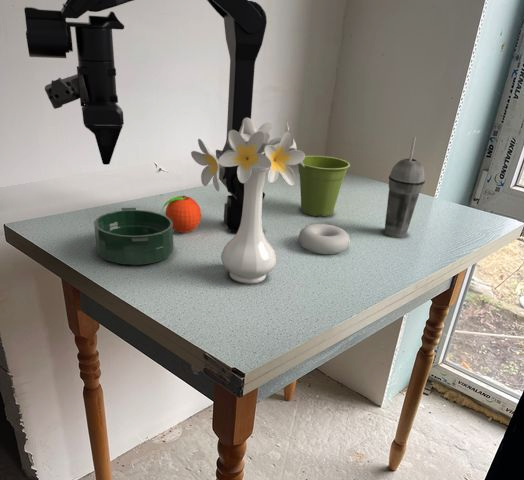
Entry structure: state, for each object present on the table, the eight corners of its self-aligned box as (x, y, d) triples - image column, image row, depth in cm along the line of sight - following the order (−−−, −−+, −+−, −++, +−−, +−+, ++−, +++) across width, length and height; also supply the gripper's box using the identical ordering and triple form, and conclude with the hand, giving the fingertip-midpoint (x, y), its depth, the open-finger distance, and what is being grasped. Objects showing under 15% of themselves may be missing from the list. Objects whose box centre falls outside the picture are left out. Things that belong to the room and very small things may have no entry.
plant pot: (345, 208, 132) (353, 159, 126) (338, 224, 122) (346, 171, 116) (296, 200, 134) (301, 152, 128) (285, 215, 124) (291, 163, 118)
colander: (166, 236, 108) (165, 208, 105) (179, 265, 97) (179, 235, 95) (94, 239, 104) (91, 210, 101) (99, 269, 93) (97, 238, 91)
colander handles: (135, 211, 105) (135, 207, 105) (148, 244, 92) (148, 240, 92) (121, 211, 104) (121, 207, 104) (132, 245, 91) (132, 241, 91)
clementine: (168, 240, 107) (168, 203, 103) (155, 228, 111) (154, 192, 108) (206, 235, 110) (207, 199, 106) (192, 223, 115) (192, 189, 111)
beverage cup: (415, 232, 121) (438, 135, 111) (408, 242, 116) (431, 141, 105) (382, 225, 124) (401, 129, 113) (374, 234, 118) (393, 135, 107)
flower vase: (179, 279, 93) (179, 118, 79) (256, 253, 105) (267, 109, 91) (234, 308, 86) (244, 137, 72) (310, 277, 97) (330, 125, 84)
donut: (342, 261, 105) (352, 243, 113) (345, 244, 103) (355, 226, 111) (291, 251, 107) (305, 233, 115) (293, 234, 105) (307, 217, 113)
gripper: (45, 51, 97) (57, 145, 105) (42, 64, 82) (56, 172, 90) (111, 54, 100) (117, 144, 108) (120, 67, 85) (127, 171, 93)
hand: (104, 157), depth 100 cm, fingers open, 9 cm apart
